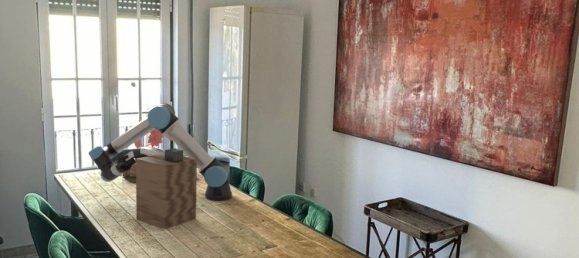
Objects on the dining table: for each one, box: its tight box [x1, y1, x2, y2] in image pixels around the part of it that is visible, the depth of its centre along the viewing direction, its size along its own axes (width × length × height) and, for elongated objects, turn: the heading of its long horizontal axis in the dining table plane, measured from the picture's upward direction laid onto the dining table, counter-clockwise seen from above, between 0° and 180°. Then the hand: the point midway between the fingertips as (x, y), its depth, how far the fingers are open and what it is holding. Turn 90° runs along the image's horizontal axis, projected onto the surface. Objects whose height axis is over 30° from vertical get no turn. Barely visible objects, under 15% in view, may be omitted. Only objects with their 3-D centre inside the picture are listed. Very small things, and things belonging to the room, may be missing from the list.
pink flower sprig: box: [133, 129, 173, 149], centre depth 299 cm, size 15×26×35 cm, turn 147°
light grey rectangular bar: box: [139, 146, 184, 162], centre depth 239 cm, size 6×26×5 cm, turn 54°
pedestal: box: [135, 155, 198, 230], centre depth 239 cm, size 20×20×30 cm
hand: (144, 151), depth 245 cm, fingers open, 13 cm apart
